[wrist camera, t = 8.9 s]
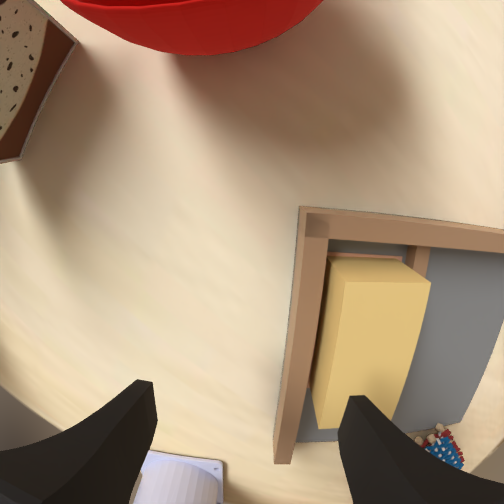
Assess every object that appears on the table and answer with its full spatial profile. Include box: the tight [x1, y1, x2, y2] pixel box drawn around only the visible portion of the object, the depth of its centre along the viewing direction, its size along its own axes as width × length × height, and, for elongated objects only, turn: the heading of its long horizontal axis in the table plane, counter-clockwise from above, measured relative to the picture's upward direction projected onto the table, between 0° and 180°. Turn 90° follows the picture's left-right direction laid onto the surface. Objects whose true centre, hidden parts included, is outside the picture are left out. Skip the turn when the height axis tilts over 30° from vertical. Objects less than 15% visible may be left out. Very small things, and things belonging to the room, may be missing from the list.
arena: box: [273, 206, 504, 464], centre depth 18 cm, size 18×18×3 cm
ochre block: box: [309, 256, 431, 429], centre depth 17 cm, size 4×9×4 cm, turn 178°
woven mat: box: [415, 423, 465, 469], centre depth 22 cm, size 10×11×2 cm
